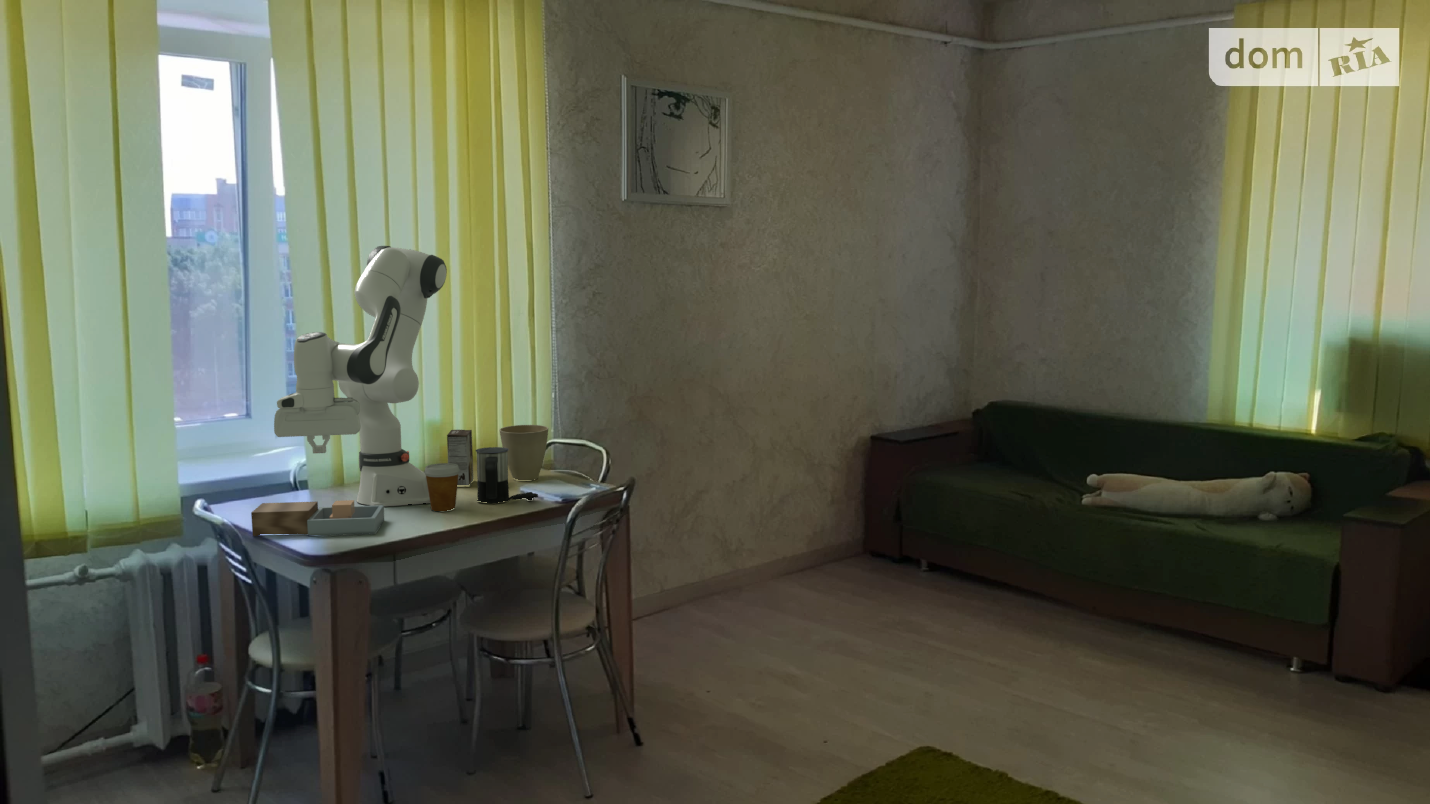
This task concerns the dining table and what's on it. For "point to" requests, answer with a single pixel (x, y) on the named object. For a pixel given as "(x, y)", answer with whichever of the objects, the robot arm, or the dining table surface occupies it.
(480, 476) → the milk frother
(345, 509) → the tile
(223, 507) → the dining table surface
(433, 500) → the disposable coffee cup
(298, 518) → the brown wooden box
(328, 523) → the box
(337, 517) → the tile
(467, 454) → the coffee box
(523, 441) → the plant pot
